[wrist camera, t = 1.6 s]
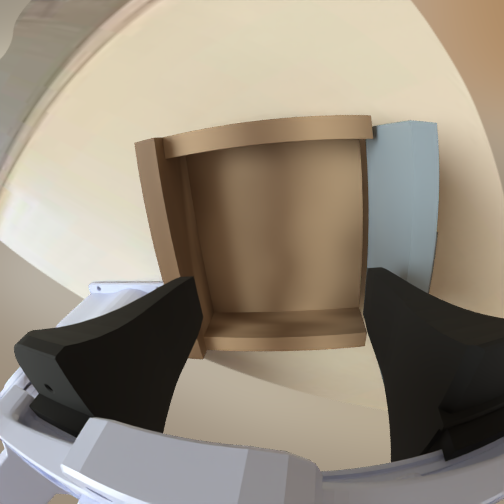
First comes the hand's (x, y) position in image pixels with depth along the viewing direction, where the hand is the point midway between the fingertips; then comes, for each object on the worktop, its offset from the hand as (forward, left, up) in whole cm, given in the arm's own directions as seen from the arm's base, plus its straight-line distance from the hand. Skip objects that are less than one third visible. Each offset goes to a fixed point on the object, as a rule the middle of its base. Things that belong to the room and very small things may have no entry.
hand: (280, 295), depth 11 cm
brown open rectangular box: (-1, 0, -9) cm, 9 cm away
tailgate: (+6, 0, -7) cm, 10 cm away
